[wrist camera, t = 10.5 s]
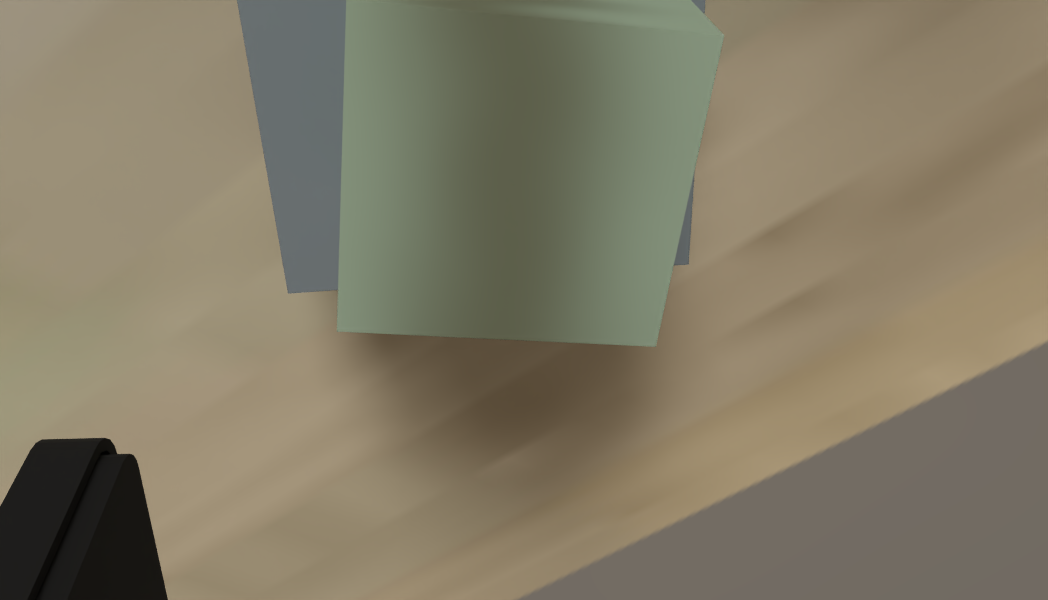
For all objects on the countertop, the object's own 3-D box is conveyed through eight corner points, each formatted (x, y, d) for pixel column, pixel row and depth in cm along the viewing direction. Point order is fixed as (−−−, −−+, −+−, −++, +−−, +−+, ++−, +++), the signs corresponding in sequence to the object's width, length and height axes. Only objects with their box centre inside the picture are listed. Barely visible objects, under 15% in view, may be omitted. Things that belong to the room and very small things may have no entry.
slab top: (671, -189, 23) (715, -172, 20) (655, 198, 29) (688, 264, 25) (241, -172, 23) (211, -151, 19) (303, 221, 28) (288, 293, 24)
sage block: (648, -44, 21) (724, 35, 16) (604, 210, 24) (655, 346, 19) (363, -75, 20) (346, -1, 15) (353, 193, 23) (337, 331, 18)
